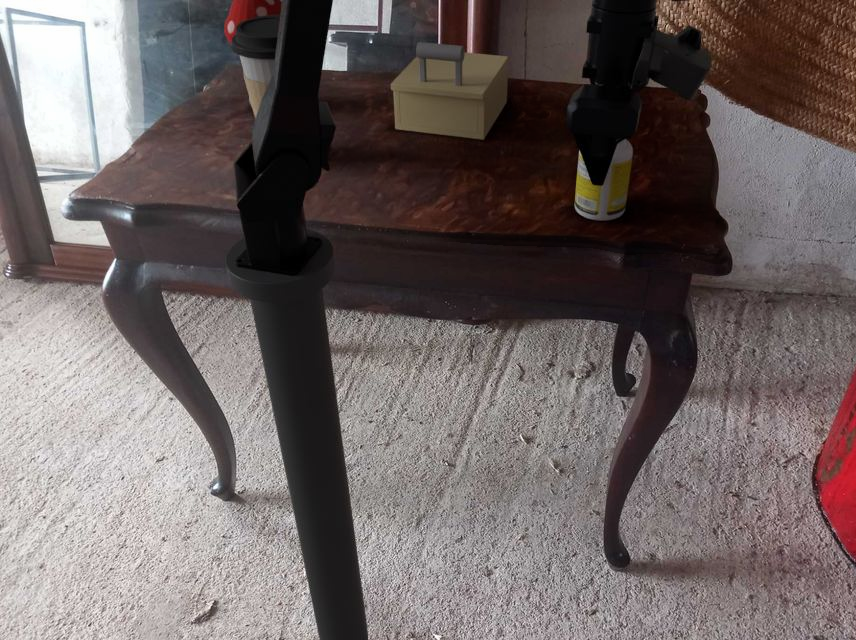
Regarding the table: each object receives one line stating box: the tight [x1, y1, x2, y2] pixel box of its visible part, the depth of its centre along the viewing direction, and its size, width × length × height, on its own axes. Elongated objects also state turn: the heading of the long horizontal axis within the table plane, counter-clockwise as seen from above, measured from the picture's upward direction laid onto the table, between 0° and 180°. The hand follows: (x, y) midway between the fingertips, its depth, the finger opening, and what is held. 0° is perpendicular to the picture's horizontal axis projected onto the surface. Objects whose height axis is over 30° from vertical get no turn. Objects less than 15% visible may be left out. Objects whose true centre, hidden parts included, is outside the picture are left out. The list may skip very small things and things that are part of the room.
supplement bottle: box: [574, 139, 634, 221], centre depth 81 cm, size 5×5×10 cm
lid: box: [390, 41, 509, 100], centre depth 99 cm, size 13×12×5 cm
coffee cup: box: [230, 15, 280, 120], centre depth 89 cm, size 9×9×15 cm
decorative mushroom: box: [223, 0, 282, 107], centre depth 101 cm, size 10×9×15 cm
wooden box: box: [392, 62, 509, 141], centre depth 102 cm, size 13×12×5 cm
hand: (603, 164), depth 81 cm, fingers open, 9 cm apart
